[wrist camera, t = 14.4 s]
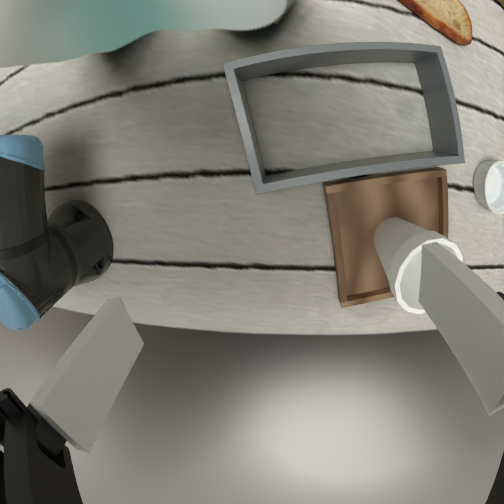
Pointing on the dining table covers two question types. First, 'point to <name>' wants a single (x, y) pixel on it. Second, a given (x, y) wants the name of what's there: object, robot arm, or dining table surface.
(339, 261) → the walnut tray
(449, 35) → the bread slice
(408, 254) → the foam cup
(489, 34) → the dining table surface
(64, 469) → the robot arm
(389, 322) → the dining table surface
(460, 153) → the deep open rectangular frame
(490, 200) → the ramekin
